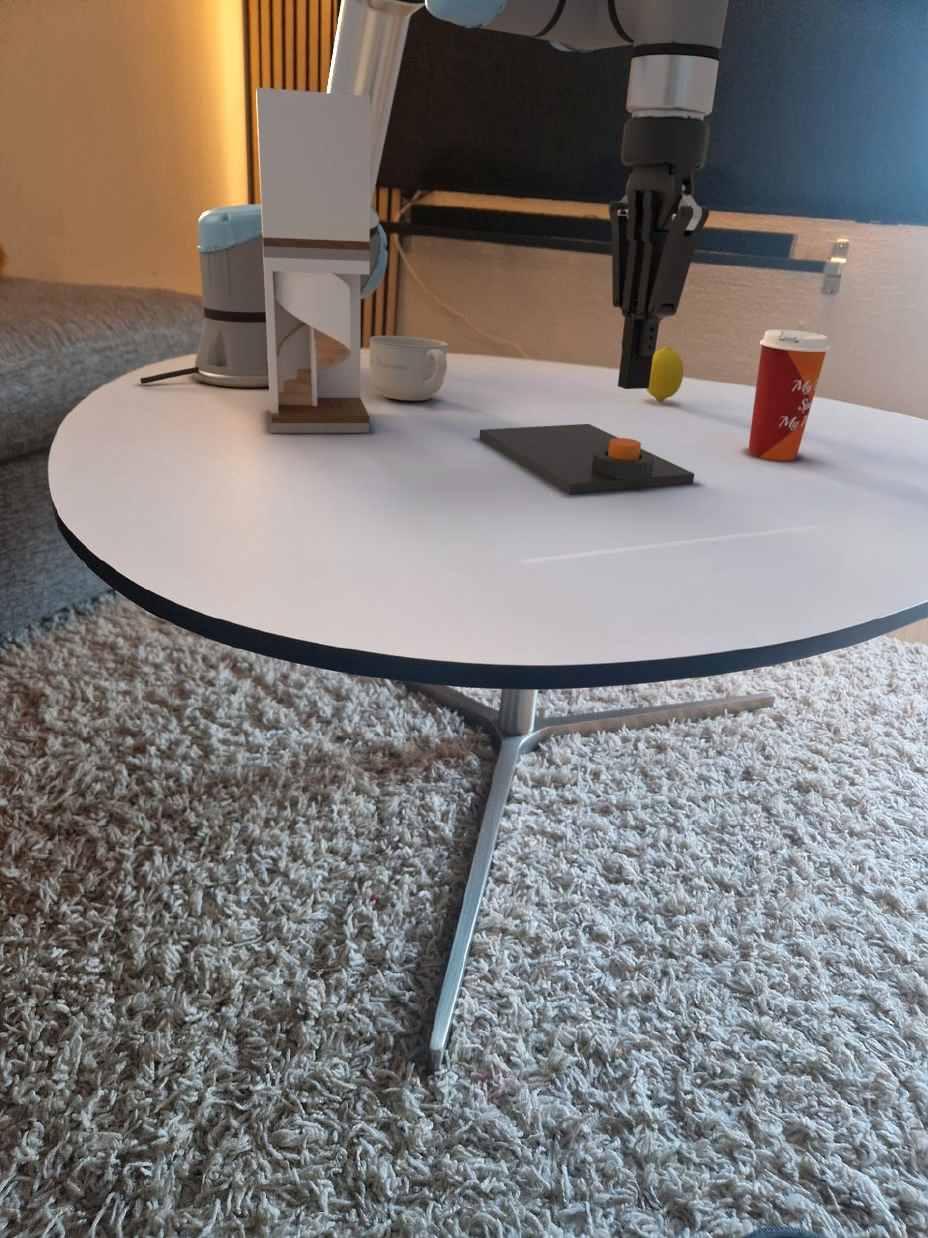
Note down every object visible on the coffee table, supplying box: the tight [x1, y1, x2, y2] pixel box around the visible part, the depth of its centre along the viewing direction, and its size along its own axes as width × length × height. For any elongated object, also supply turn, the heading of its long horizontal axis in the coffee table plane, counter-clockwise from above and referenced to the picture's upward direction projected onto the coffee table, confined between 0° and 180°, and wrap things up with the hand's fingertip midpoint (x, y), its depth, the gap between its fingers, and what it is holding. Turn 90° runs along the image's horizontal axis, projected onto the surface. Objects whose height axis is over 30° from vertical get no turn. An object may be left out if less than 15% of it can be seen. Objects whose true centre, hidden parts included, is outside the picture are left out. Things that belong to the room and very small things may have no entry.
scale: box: [478, 423, 695, 496], centre depth 100 cm, size 15×22×3 cm, turn 23°
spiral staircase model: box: [255, 87, 370, 434], centre depth 103 cm, size 11×11×35 cm
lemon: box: [645, 345, 684, 403], centre depth 130 cm, size 6×6×8 cm
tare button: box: [608, 437, 642, 460], centre depth 92 cm, size 3×3×2 cm
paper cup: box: [748, 329, 831, 462], centre depth 105 cm, size 8×8×14 cm
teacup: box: [368, 335, 449, 402], centre depth 123 cm, size 14×11×8 cm
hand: (633, 386), depth 90 cm, fingers closed
